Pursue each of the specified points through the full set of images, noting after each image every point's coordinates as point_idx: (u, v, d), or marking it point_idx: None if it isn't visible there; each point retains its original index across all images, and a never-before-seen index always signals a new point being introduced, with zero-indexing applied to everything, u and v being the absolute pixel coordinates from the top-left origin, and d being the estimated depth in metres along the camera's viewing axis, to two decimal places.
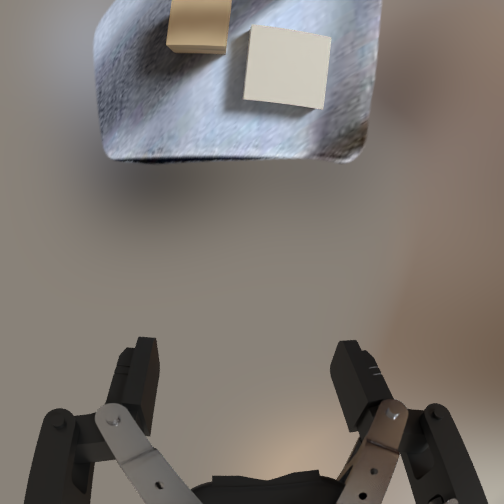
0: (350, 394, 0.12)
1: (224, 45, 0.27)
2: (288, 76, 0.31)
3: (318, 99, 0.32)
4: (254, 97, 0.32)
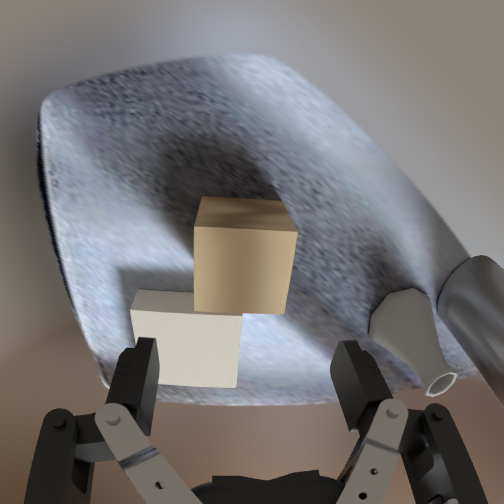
0: (350, 394, 0.12)
1: (195, 309, 0.21)
2: (173, 354, 0.26)
3: None
4: (135, 321, 0.24)
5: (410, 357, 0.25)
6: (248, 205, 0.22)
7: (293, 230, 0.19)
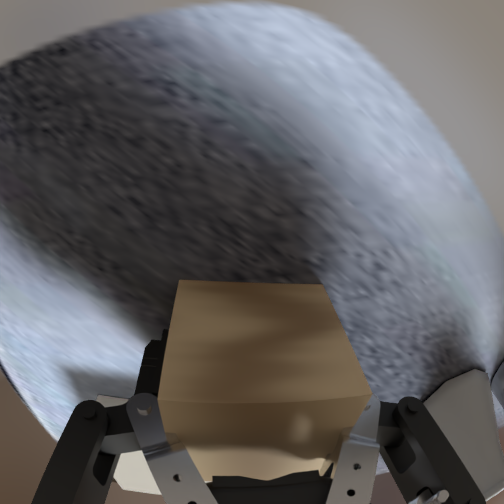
0: None
1: None
2: None
3: (135, 488, 0.17)
4: None
5: (465, 461, 0.14)
6: (266, 307, 0.12)
7: (363, 390, 0.08)
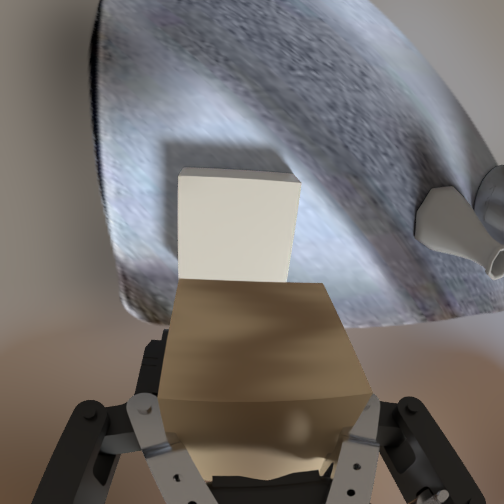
0: None
1: None
2: (220, 236, 0.25)
3: (192, 275, 0.26)
4: (182, 191, 0.23)
5: (464, 243, 0.23)
6: (266, 306, 0.12)
7: (364, 389, 0.08)
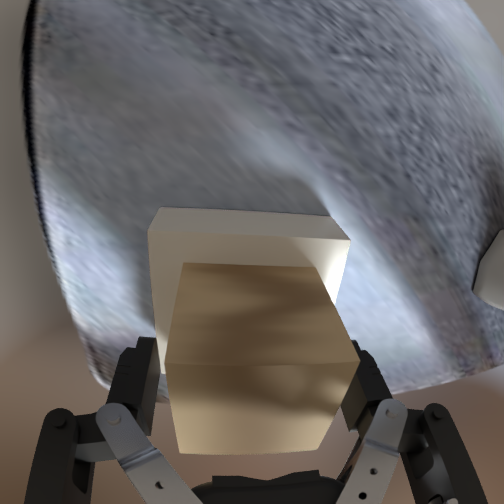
0: (349, 394, 0.12)
1: (182, 451, 0.11)
2: None
3: None
4: (155, 255, 0.14)
5: None
6: (263, 286, 0.13)
7: (352, 357, 0.09)
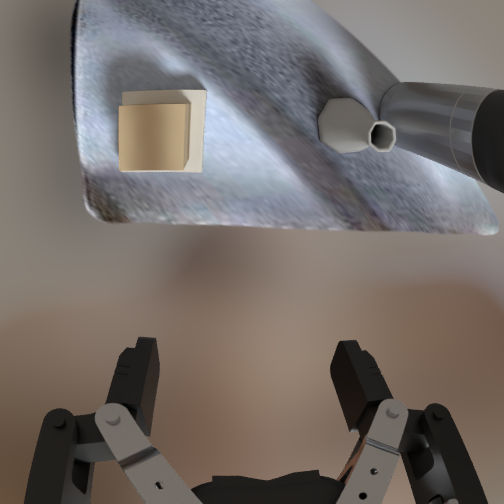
0: (350, 394, 0.12)
1: (120, 169, 0.27)
2: None
3: None
4: (124, 102, 0.29)
5: (352, 129, 0.30)
6: (163, 103, 0.28)
7: (183, 103, 0.25)
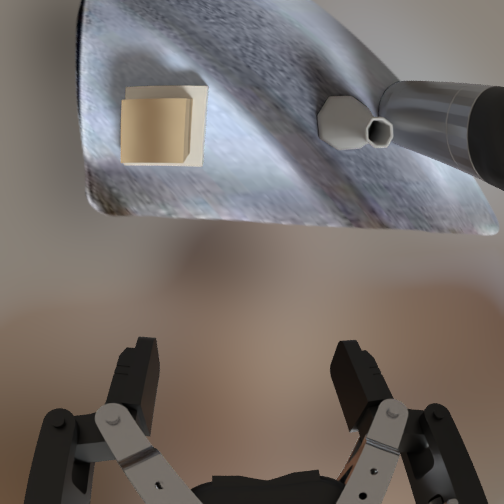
0: (350, 394, 0.12)
1: (122, 161, 0.27)
2: None
3: None
4: (127, 97, 0.30)
5: (350, 126, 0.30)
6: None
7: (184, 98, 0.25)
